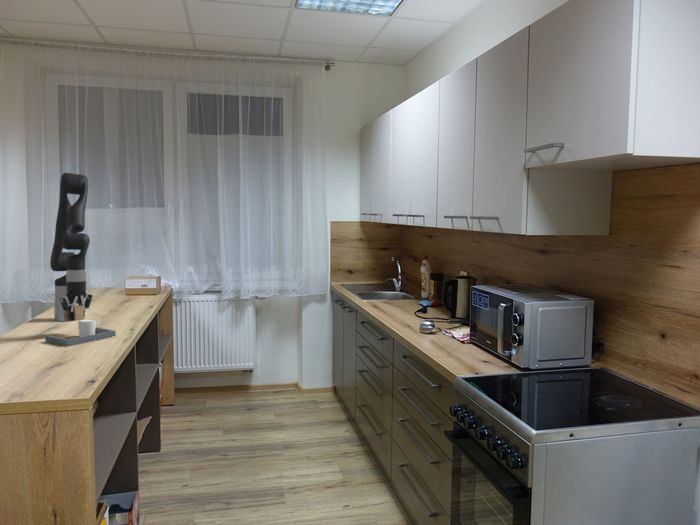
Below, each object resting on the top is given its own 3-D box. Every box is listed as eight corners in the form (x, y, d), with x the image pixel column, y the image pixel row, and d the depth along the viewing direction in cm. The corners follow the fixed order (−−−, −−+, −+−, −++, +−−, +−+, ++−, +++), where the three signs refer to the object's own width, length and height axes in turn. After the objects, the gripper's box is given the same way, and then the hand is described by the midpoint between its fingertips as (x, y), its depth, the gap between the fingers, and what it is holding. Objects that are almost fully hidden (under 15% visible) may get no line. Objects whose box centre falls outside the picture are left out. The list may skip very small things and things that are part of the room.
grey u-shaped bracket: (45, 341, 216) (45, 335, 216) (94, 332, 235) (94, 326, 235) (66, 346, 209) (66, 340, 209) (115, 336, 228) (115, 330, 228)
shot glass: (99, 335, 229) (99, 319, 229) (87, 338, 223) (87, 322, 222) (87, 334, 231) (87, 318, 231) (74, 337, 225) (74, 321, 224)
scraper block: (64, 320, 230) (63, 306, 230) (73, 319, 234) (72, 305, 234) (75, 320, 226) (74, 306, 226) (84, 319, 230) (83, 305, 230)
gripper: (86, 277, 236) (86, 315, 237) (54, 280, 223) (55, 320, 225) (96, 279, 232) (97, 318, 234) (65, 282, 220) (66, 323, 221)
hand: (76, 319), depth 229 cm, fingers closed on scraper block, 4 cm apart
